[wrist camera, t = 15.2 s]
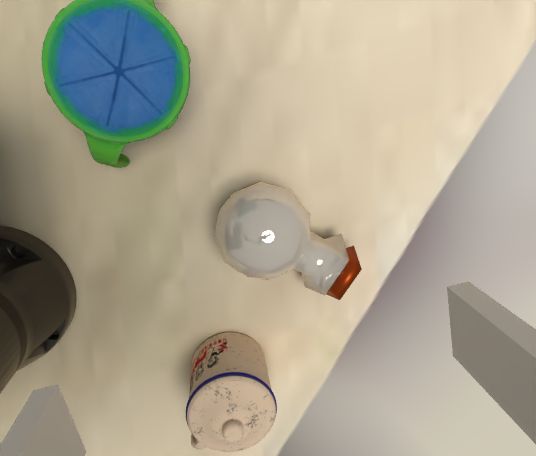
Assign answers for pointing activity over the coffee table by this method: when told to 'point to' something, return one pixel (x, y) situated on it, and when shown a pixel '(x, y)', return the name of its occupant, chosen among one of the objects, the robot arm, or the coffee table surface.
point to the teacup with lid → (229, 394)
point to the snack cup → (115, 72)
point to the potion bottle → (282, 241)
